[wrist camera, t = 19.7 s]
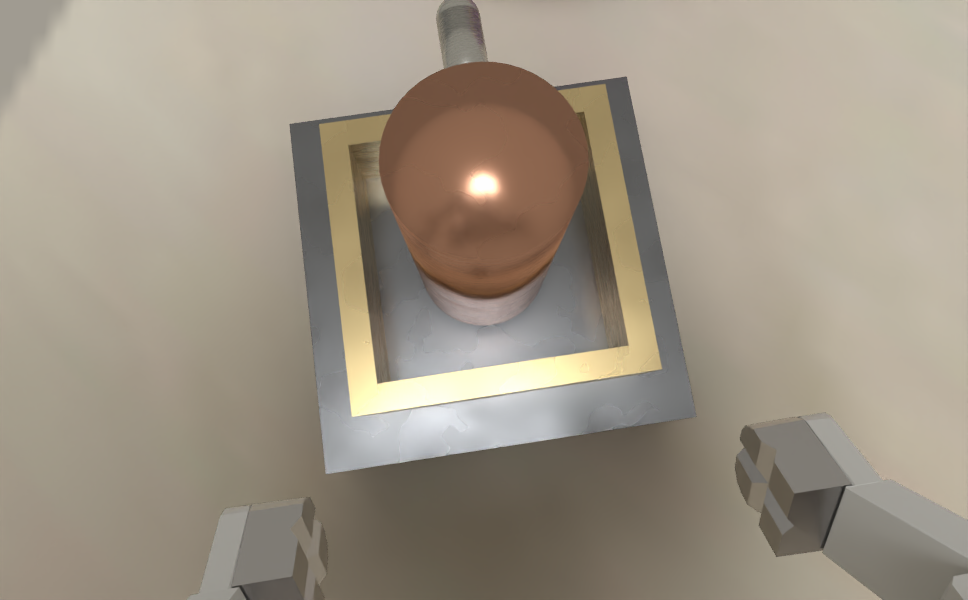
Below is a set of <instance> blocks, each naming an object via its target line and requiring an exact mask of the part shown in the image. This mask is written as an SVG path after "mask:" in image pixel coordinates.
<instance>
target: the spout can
mask: <svg viewBox="0 0 968 600" xmlns="http://www.w3.org/2000/svg"><path fill="white" fill-rule="evenodd" d="M436 21H437V28H438V34H439V41H440V47H441V53H442V59H443V66H444V69H442V70H440V71H438V72H436V73H434V74H432V75H430V76H428V77H427V78H425V79H424V80H422V81H420V82H419V83H418V84H417V85H415V86H414V87H413V88H412V89H411V90H409V91H408V92H407V94H406V95H405V96H404V97H403V98H402V99H401V100H400V101H399V103H398V104H397V106H396V107H395V108H394V110H393V111H392V113H391V115H390V117H389V119H388V121H387V123H386V126H385V128H384V131H383V134H382V138H381V143H380V148H379V173H380V178H381V183H382V187H383V189H384V192H385V195H386V198H387V200H388V203H389V205H390V207H391V209H392V212H393V214H394V216H395V219H396V221H397V223H398V226H399V228H400V230H401V233H402V235H403V237H404V240H405V242H406V244H407V247H408V249H409V251H410V254H411V256H412V258H413V260H414V263H415V265H416V267H417V270H418V272H419V274H420V277H421V279H422V281H423V284H424V286H425V288H426V290H427V292H428V294H429V296H430V297H431V299H432V300H433V302H434V303H435V304H436V305H437V306H438V307H439V308H440V309H441V310H442V311H443V312H444V313H446V314H447V315H449V316H450V317H452V318H454V319H456V320H458V321H460V322H464V323H467V324H472V325H483V326H485V325H494V324H499V323H502V322H505V321H508V320H510V319H512V318H514V317H515V316H517V315H518V314H520V313H521V312H523V311H524V310H525V309H526V308H527V307H528V306H529V305H530V304H531V302H532V301H533V300H534V298H535V297H536V295H537V294H538V291H539V289H540V287H541V285H542V283H543V280H544V278H545V276H546V274H547V272H548V269H549V267H550V265H551V263H552V260H553V258H554V256H555V254H556V252H557V249H558V247H559V245H560V243H561V241H562V238H563V236H564V234H565V232H566V229H567V227H568V225H569V223H570V221H571V218H572V216H573V214H574V212H575V210H576V207H577V205H578V203H579V201H580V198H581V196H582V194H583V191H584V188H585V184H586V181H587V174H588V158H589V155H588V147H587V141H586V137H585V134H584V130H583V128H582V125H581V123H580V121H579V118H578V116H577V115H576V113H575V111H574V110H573V108H572V106H571V105H570V104H569V103H568V101H567V100H566V99H565V98H564V96H563V95H562V94H561V93H560V92H558V91H557V90H556V89H555V88H554V87H553V86H552V85H550V84H549V83H548V82H546V81H545V80H544V79H542V78H540V77H539V76H537V75H535V74H533V73H531V72H529V71H527V70H524V69H522V68H519V67H515V66H512V65H508V64H503V63H497V62H488V58H487V52H486V47H485V41H484V35H483V30H482V24H481V18H480V13H479V10H478V8H477V6H476V4H475V3H474V2H473V1H472V0H444V1H443V2H442V3H441V5H440V6H439V9H438V11H437V16H436Z"/></svg>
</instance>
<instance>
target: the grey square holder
mask: <svg viewBox="0 0 968 600" xmlns="http://www.w3.org/2000/svg"><path fill="white" fill-rule="evenodd" d="M554 88H555V89H556V90H557V91H558V92H560V93H561V94H562V95H563V96H564V98H565V99H566V100H567V101H568V103H569V104H570V105H571V106H572V108H573V110H574V111H575V113H576V115H577V116H578V118H579V121H580V123H581V125H582V128H583V130H584V134H585V137H586V141H587V147H588V155H589V158H588V174H587V181H586V184H585V188H584V191H583V194H582V196H581V198H580V201H579V203H578V205H577V207H576V210H575V212H574V214H573V216H572V218H571V221H570V223H569V225H568V227H567V229H566V232H565V234H564V236H563V238H562V241H561V243H560V245H559V247H558V249H557V252H556V254H555V256H554V258H553V260H552V263H551V265H550V267H549V269H548V272H547V274H546V276H545V278H544V280H543V283H542V285H541V287H540V289H539V291H538V294H537V295H536V297H535V298H534V300H533V301H532V302H531V304H530V305H529V306H528V307H527V308H526V309H525V310H524V311H523V312H521V313H520V314H518V315H517V316H515V317H514V318H512V319H510V320H508V321H505V322H502V323H499V324H494V325H485V326H483V325H472V324H467V323H464V322H460V321H458V320H456V319H454V318H452V317H450V316H449V315H447V314H446V313H444V312H443V311H442V310H441V309H440V308H439V307H438V306H437V305H436V304H435V303H434V302H433V300H432V299H431V297H430V296H429V294H428V292H427V290H426V288H425V286H424V284H423V281H422V279H421V277H420V274H419V272H418V270H417V267H416V265H415V263H414V260H413V258H412V256H411V254H410V251H409V249H408V247H407V244H406V242H405V240H404V237H403V235H402V233H401V230H400V228H399V226H398V223H397V221H396V219H395V216H394V214H393V212H392V209H391V207H390V205H389V203H388V200H387V198H386V195H385V192H384V189H383V187H382V183H381V178H380V173H379V148H380V143H381V138H382V134H383V131H384V128H385V126H386V123H387V121H388V119H389V117H390V115H391V113H392V111H393V110H394V109H393V110H386V111H379V112H372V113H365V114H358V115H351V116H344V117H337V118H329V119H322V120H315V121H308V122H301V123H294V124H290V133H291V143H292V153H293V162H294V172H295V181H296V191H297V201H298V210H299V220H300V230H301V239H302V249H303V258H304V268H305V278H306V287H307V297H308V307H309V316H310V326H311V335H312V345H313V355H314V364H315V374H316V384H317V393H318V403H319V412H320V422H321V432H322V441H323V451H324V461H325V470H326V474H330V473H337V472H343V471H349V470H356V469H362V468H369V467H375V466H382V465H388V464H395V463H401V462H408V461H414V460H421V459H427V458H433V457H440V456H446V455H453V454H459V453H466V452H472V451H479V450H485V449H492V448H498V447H505V446H511V445H517V444H524V443H530V442H537V441H543V440H550V439H556V438H563V437H569V436H576V435H582V434H589V433H595V432H601V431H608V430H614V429H621V428H627V427H634V426H640V425H647V424H653V423H660V422H666V421H673V420H679V419H685V418H692V417H696V412H695V407H694V402H693V397H692V392H691V387H690V383H689V378H688V373H687V368H686V363H685V358H684V353H683V349H682V344H681V339H680V334H679V329H678V324H677V319H676V315H675V310H674V305H673V300H672V295H671V290H670V285H669V281H668V276H667V271H666V266H665V261H664V256H663V251H662V247H661V242H660V237H659V232H658V227H657V222H656V217H655V213H654V208H653V203H652V198H651V193H650V188H649V184H648V179H647V174H646V169H645V164H644V159H643V154H642V150H641V145H640V140H639V135H638V130H637V125H636V120H635V116H634V111H633V106H632V101H631V96H630V91H629V86H628V82H627V77H621V78H614V79H607V80H600V81H592V82H585V83H578V84H571V85H564V86H557V87H554Z"/></svg>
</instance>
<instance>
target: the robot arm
mask: <svg viewBox="0 0 968 600" xmlns="http://www.w3.org/2000/svg"><path fill="white" fill-rule="evenodd" d="M740 441H741V442H742V444H743V446H744V447H745V448H744V449H743V450H742V451H741V452H740V453H739V454H738V455H737V457H736V464H735V471H736V478H737V483H738V485H739V488H740V491H741V493H742V495H743V497H744V499H745V501H746V503H747V505H749V506H750V507H752V508H753V509H755V510H757V511H758V512H760V513H761V517H760V522H759V527H760V528H761V530H762V532H763V534H764V536H765V537H766V539H767V541H768V543H769V545H770V546H771V548H772V550H773V552H774V553H775V555H776V557H779V556H786V555H793V554H800V553H808V552H815V551H822V550H823V552H822V553H823V554H824V555H826V556H827V557H828V558H829V559H831V560H832V561H833V562H835V563H836V564H837V565H838V566H840V567H841V568H842V569H844V570H845V571H846V572H848V573H849V574H850V575H851V576H853V577H854V578H855V579H857V580H858V581H859V582H860V583H862V584H863V585H864V586H866V587H867V588H868V589H870V590H871V591H872V592H873V593H875V594H876V595H877V596H879V597H880V598H881V599H882V600H968V520H967V519H965V518H963V517H961V516H959V515H957V514H955V513H953V512H952V511H950V510H948V509H946V508H944V507H942V506H940V505H938V504H936V503H935V502H933V501H931V500H929V499H927V498H925V497H923V496H921V495H920V494H918V493H916V492H914V491H912V490H910V489H908V488H906V487H904V486H903V485H901V484H899V483H897V482H895V481H893V480H891V479H890V480H882V479H881V477H880V476H879V475H878V474H877V472H876V471H875V470H874V469H873V467H872V466H871V465H870V464H869V462H868V461H867V460H866V459H865V457H864V456H863V455H862V454H861V452H860V451H859V450H858V449H857V448H856V446H855V445H854V444H853V443H852V441H851V440H850V439H849V438H848V436H847V435H846V434H845V433H844V431H843V430H842V429H841V428H840V426H839V425H838V424H837V423H836V421H835V420H834V419H833V418H832V416H830V415H829V414H827V413H818V414H812V415H806V416H800V417H790V418H785V419H779V420H773V421H768V422H762V423H756V424H750V425H746V426H745V427H744V428H743V429H742V431H741V436H740ZM314 516H315V506H314V504H313V502H312V500H311V498H310V497H303V498H295V499H288V500H281V501H273V502H266V503H258V504H252V505H245V506H238V507H232V508H225V510H224V511H223V513H222V514H221V516H220V517H219V521H218V525H217V528H216V532H215V536H214V539H213V543H212V547H211V550H210V554H209V557H208V561H207V565H206V568H205V572H204V576H203V579H202V583H201V587H200V590H199V593H198V594H193V595H190V596H189V597H188V598H187V599H186V600H325V597H324V595H323V592H322V590H321V588H320V586H319V584H320V583H321V582H322V580H323V579H324V577H325V576H326V575H327V568H328V545H327V539H326V534H325V530H324V528H323V525H322V523H321V522H319V521H317V520H315V519H314Z"/></svg>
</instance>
